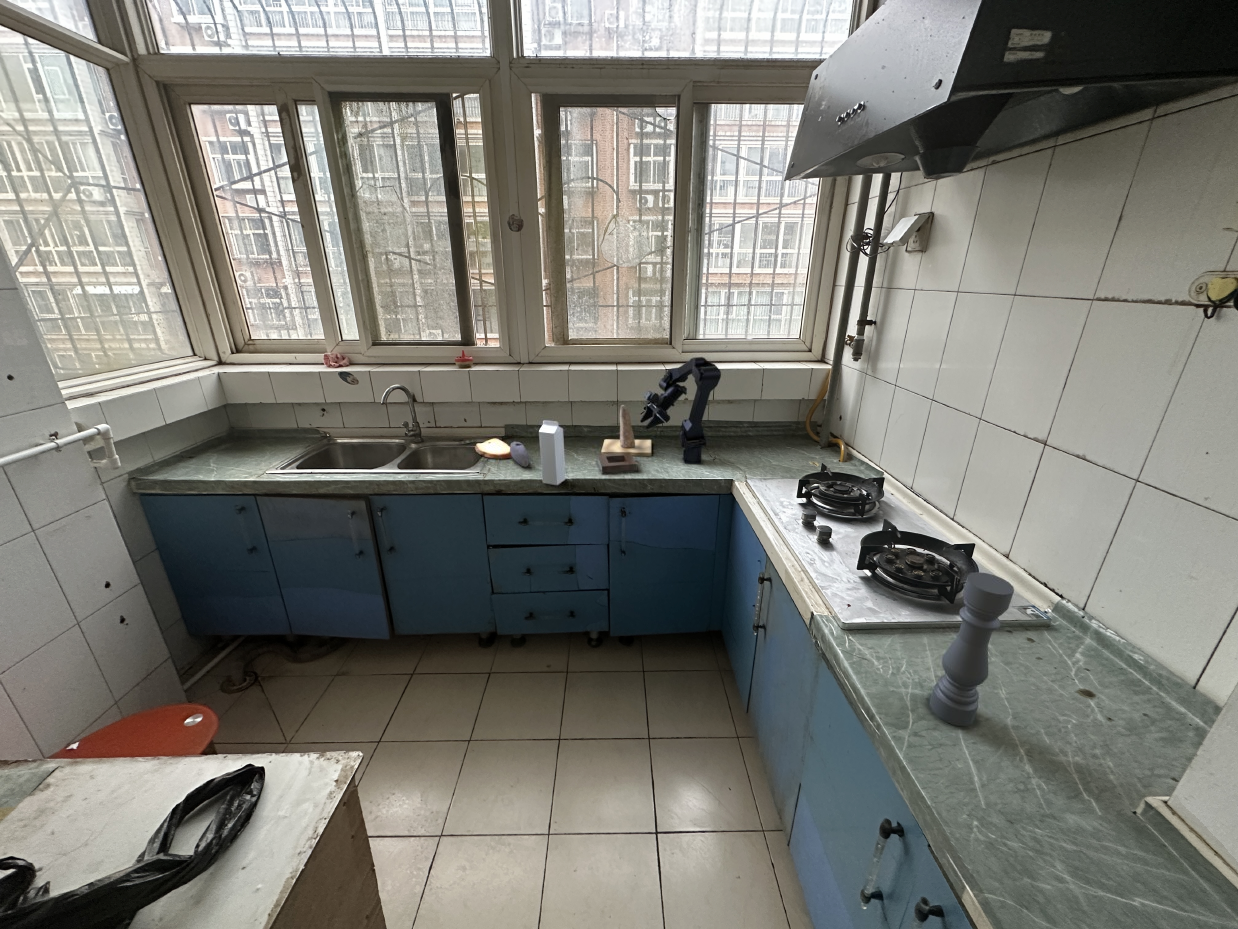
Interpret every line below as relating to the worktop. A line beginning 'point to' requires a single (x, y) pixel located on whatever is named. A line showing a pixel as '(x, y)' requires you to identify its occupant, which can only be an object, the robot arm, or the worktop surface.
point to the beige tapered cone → (626, 429)
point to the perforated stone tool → (519, 453)
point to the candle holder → (970, 649)
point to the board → (638, 450)
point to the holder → (616, 463)
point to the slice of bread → (493, 449)
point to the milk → (552, 453)
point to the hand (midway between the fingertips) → (643, 425)
